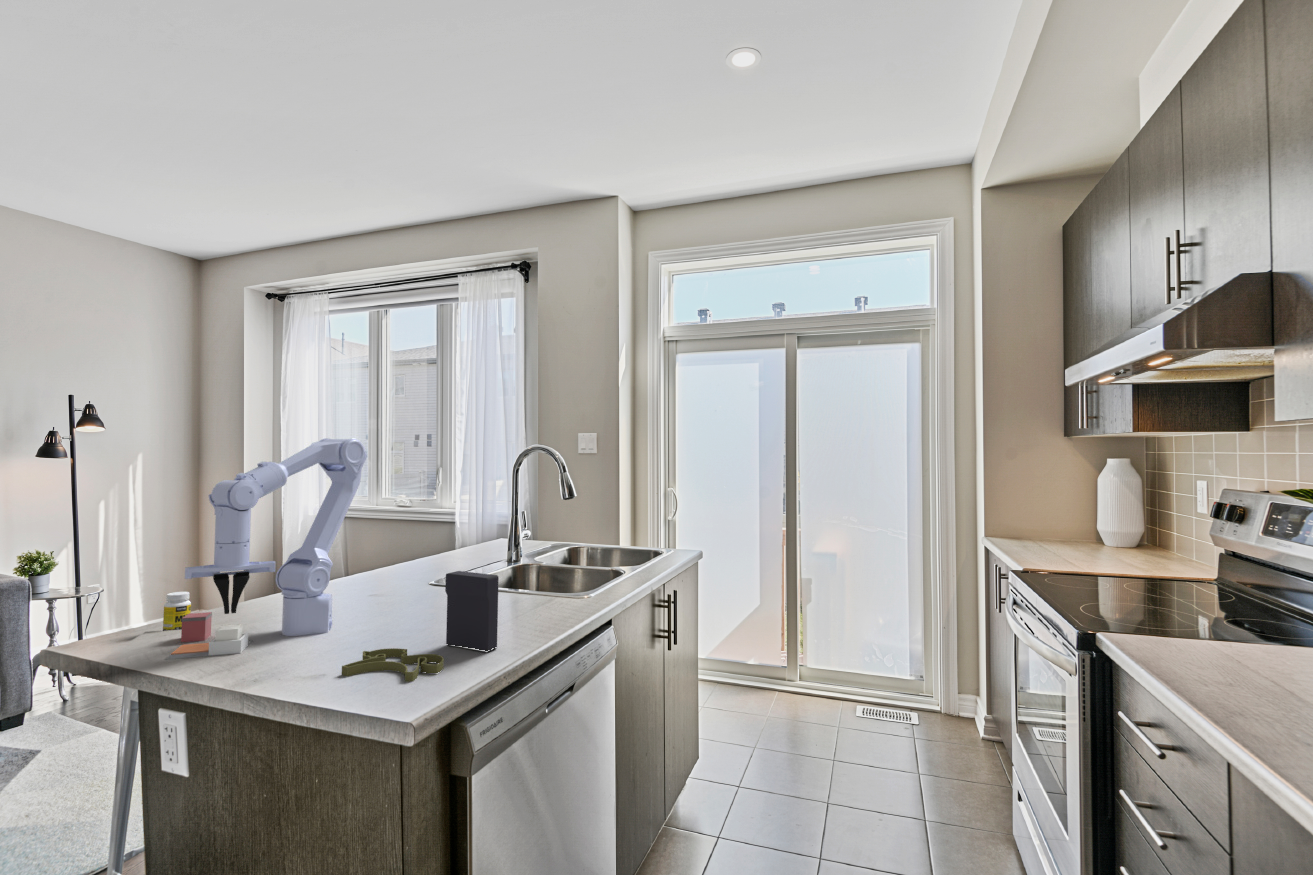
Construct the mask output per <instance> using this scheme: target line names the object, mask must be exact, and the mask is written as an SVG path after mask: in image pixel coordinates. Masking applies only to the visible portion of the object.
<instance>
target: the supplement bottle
mask: <svg viewBox="0 0 1313 875" xmlns="http://www.w3.org/2000/svg"><path fill="white" fill-rule="evenodd" d="M191 610H192V602H191V601H190V592H189V591H174V592H170V593H167V594H166V602H165V603H164V605H163V621H162V631H163V632H167V631H179V630H180V631H182V618H183V617H185V616H186V615H187V614H189V613H192V612H191Z"/></svg>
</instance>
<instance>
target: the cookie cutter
mask: <svg viewBox="0 0 1313 875" xmlns="http://www.w3.org/2000/svg"><path fill="white" fill-rule="evenodd" d="M400 657H401V658H400ZM386 658H400V662H398V661H392V660H391V661H390V660H389V661H388V660H386ZM427 662H436V663H439V664H433V663H427ZM444 662H445V660H444V657H443V656H442V655H441V654H436V653H423V654H421V653H420V654H411V655H410V654H409V655H408V649H407V648H399V647H397V648H395V647H393V648H380V649H374V650H370V651H369V650H363V651H362V660H357V661H353V662H350V663H347V664H344V665H341V676H343V677H352V676H355V675H359V674H365V673H369V672H381V671H382V672H383V671H384V670H391V671H390V672H397V671H399V672H398V673H400V672H402V673H403V674H402V673H401V674H402V675H404V674H405V675H404V682H410V681H413V682H414V681H416V680H417V679H418V677H419V675H420V673H422V672H426V673H425V674H427V673H438V672H440V671H441V670H442V669H443V670H444ZM414 663H418V664H416V667H415V669H414V670H413V671H409V670H408V669H409V668H408V665H405V664H409V665H415V664H414ZM419 666H420V667H419ZM443 670H442V671H443ZM442 671H441V672H442ZM441 672H440V673H441ZM418 674H419V675H418ZM417 676H418V677H417ZM415 679H416V680H415Z"/></svg>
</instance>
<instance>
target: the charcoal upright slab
mask: <svg viewBox="0 0 1313 875" xmlns="http://www.w3.org/2000/svg"><path fill="white" fill-rule="evenodd" d="M444 590H445V593H446V595H447V596H446V630H445V631H446V632H445V633H446V636H445V637H446V639H445V640H446V641H445V644H448V645H455V646H462V647H468V648H475V649H479V650H485V651H488V650H491V649H492V648H495V647H497V648H498V615H499V613H498V612H499V576H498V575H497V574H489V573H481V572H479V573H478V572H471V571H461V570H456V571H453V572H446V574H445V589H444Z"/></svg>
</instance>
